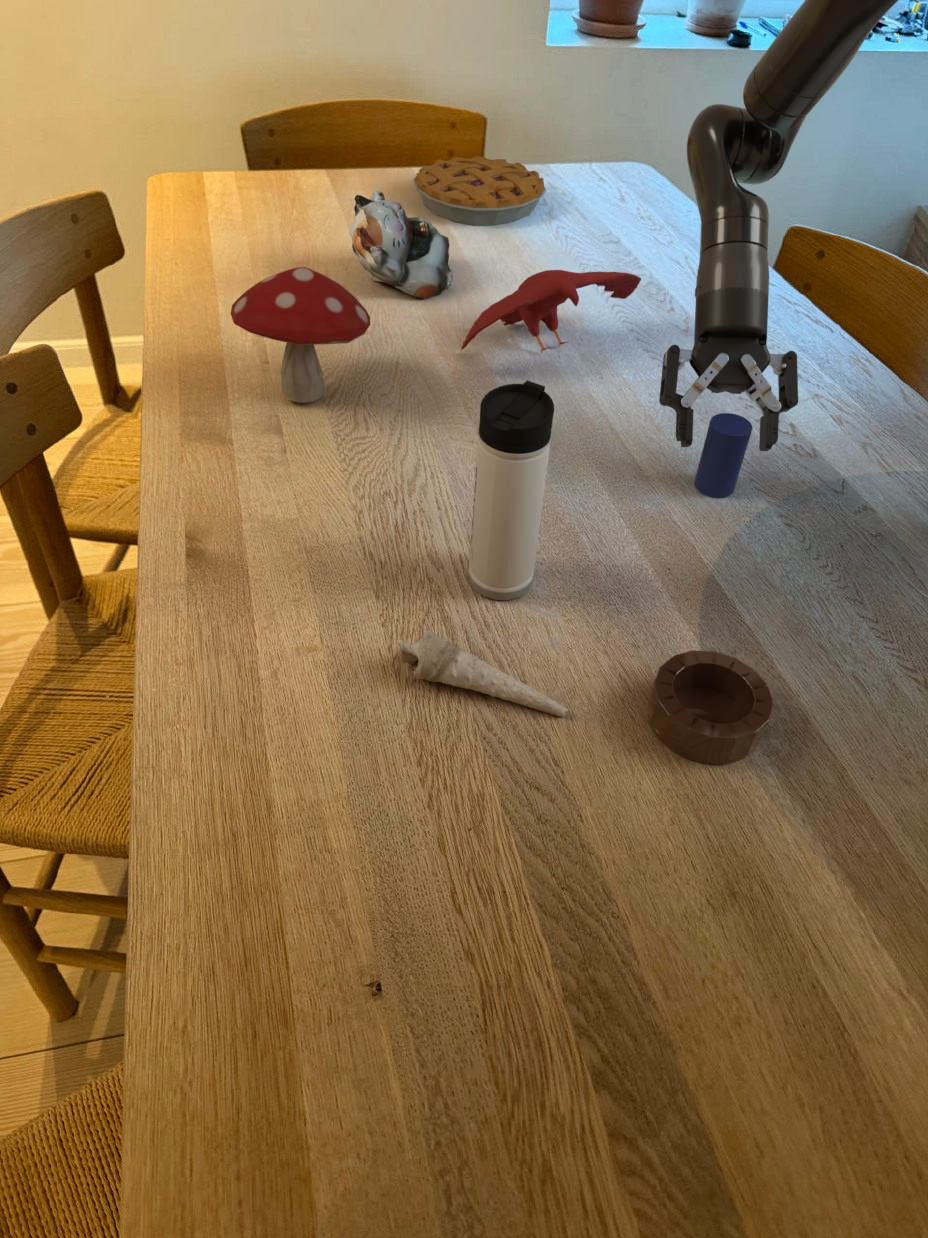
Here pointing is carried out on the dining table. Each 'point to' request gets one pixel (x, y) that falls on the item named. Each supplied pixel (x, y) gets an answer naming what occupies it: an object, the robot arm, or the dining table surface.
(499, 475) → the travel mug
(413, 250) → the lucky cat figurine
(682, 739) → the holder
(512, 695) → the seashell
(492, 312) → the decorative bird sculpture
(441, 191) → the pie
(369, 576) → the dining table surface
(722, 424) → the blue cylinder
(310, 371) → the decorative mushroom
